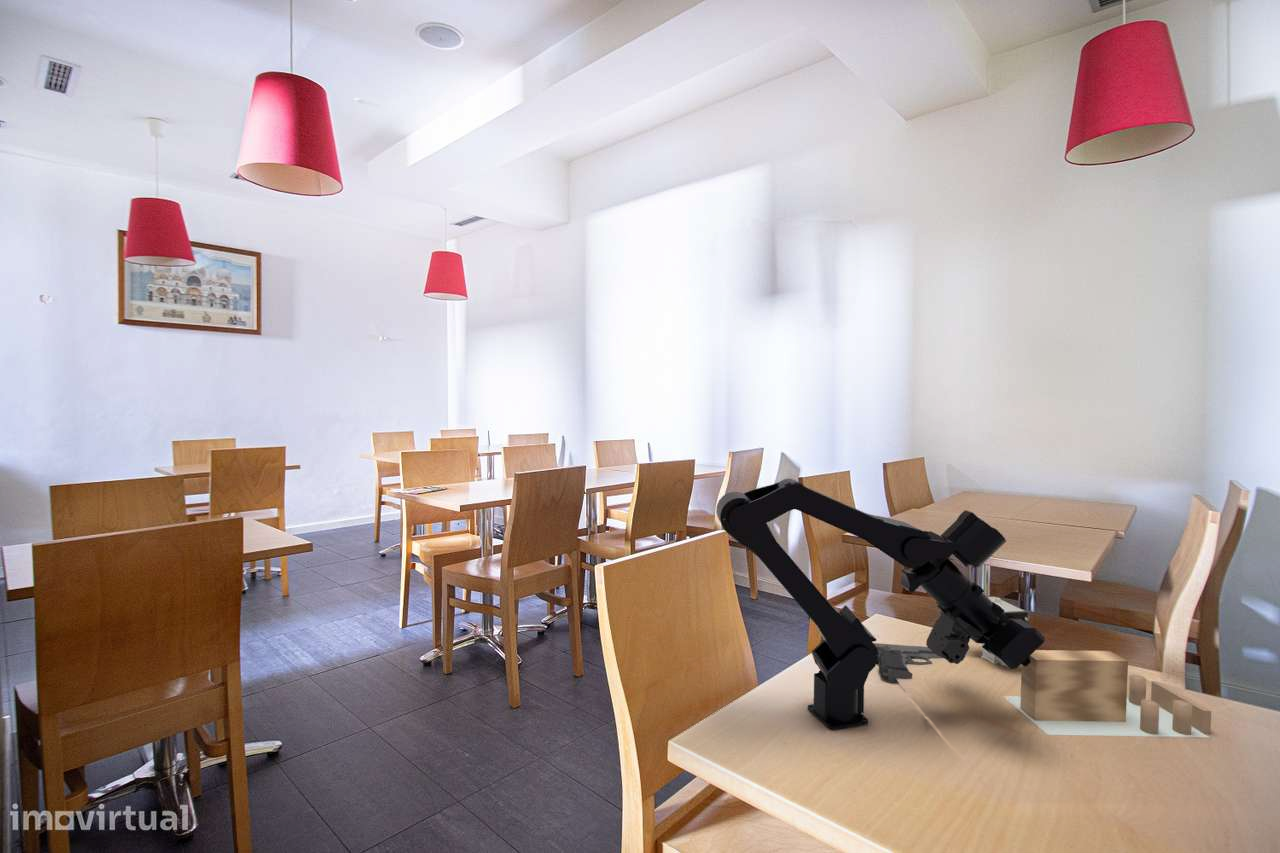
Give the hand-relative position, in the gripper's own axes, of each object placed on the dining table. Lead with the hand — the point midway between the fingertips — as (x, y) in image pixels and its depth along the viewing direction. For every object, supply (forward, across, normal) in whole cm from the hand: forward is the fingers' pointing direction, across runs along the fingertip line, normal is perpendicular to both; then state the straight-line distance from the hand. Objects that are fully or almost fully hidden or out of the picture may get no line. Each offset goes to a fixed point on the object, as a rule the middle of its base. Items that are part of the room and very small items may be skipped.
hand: (1026, 663), depth 90 cm
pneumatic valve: (+10, -19, -2) cm, 22 cm away
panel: (+14, 0, +2) cm, 14 cm away
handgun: (0, -17, -13) cm, 21 cm away
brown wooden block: (+10, 0, -1) cm, 10 cm away
